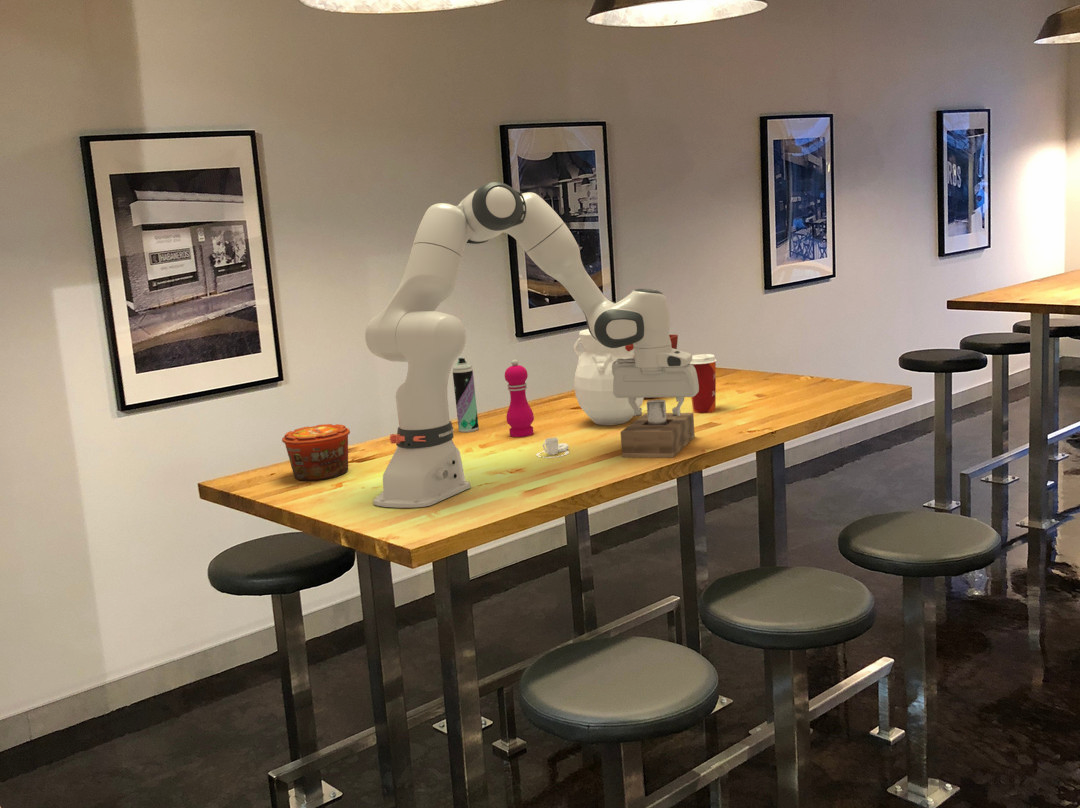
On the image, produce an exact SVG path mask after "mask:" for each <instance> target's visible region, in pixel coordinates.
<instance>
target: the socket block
mask: <svg viewBox="0 0 1080 808" xmlns="http://www.w3.org/2000/svg"><path fill="white" fill-rule="evenodd" d="M672 413H673V412H666V418H667V425H648V415H647V412H646V413H644V414H642V415H641V416H639V418H637V419H636V420H634V421H633V422H632V423H631V424H629V425H628V426H626V427H625V428H624V429H622V430H621V431H620V441H621V442H620V445H621V455H622V458H650V459H651V458H653V459H654V458H655V459H656V458H658V459H659V458H661V459H662V458H667V459H668V458H669V459H671V458H672V459H673V458H674V457H675V456H676V455H677V454H679V453H680V452H681V451H682V450H683V448H685V447H686V446H687V445H688V444H689V443H690V442H691V441H692V440H693V439H694V438H695V423H694V422H695V420H694V412H680V416H673V414H672Z"/></svg>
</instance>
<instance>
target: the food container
mask: <svg viewBox="0 0 1080 808" xmlns="http://www.w3.org/2000/svg"><path fill="white" fill-rule="evenodd" d="M350 434H351V430H350V429H349V428H347V427H346V425H345V424H340V423H339V424H332V423H330V424H329V423H327V424H325V423H324V424H323V423H322V424H317V425H314V426H313V425H312V426H304V427H300V428H296V429H294V430H293V431H292V430H291V431H290V430H289V431H288V432H286V433H285V434H284V436H283V437H281V438H282V439H281V442H282V443H284V445H285V449H286V452H287V453H286V454H287V456H288V459H289V463H290V465H291V466H290V467H291V470H292V473H293V476H294V477H293V478H294V479H295V480H297V481H300V482H302V481H304V482H306V481H307V482H310V481H312V482H314V481H320V480H321V481H322V480H328V479H332V478H336V477H339V476H342V475H343V474H345V473H347V472H348V470H349V435H350Z"/></svg>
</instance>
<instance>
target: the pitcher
mask: <svg viewBox="0 0 1080 808" xmlns="http://www.w3.org/2000/svg"><path fill="white" fill-rule="evenodd" d="M578 336H579V338H578V339H576V341H575V342H574V344H573V351H574V353H575V354H576V356H577V357H578V359H577V366H576V370H575V372H574V381H573V383H574V384H573V386H574V394H575V398H576V400H577V402H578V405H579V407H580V408H581V409H582V411H583V412H584V413H585V414H586V416H588V418H590V420H592V422H593V423H594V424H596V425H598V426H600V425H601V426H615V425H620V424H621V425H622V424H625V423H628V422H629V421H630V420H631V419H632V418H633V417H635V416H634V409H633V408H632V407H631V405H630V404H629V402H628V398H616V397H615V395H614V394H613V378H614V376H613V374H612V364H613V362H614V361H617V359H628V358H634V357H633V356H634V349H633V350H631V351H629V352H628V351H627V350H626V349H625V346H623V347H620V348H608V347H605V346H604V345H602V344H601V343H600V342H598V341H597V340H595V339H594V338H593V337H592V335H591V334H590V332H589V329H588V328H587V329H584V330H583V329H582V330H580V331H579V333H578ZM579 344H582V346H583V348H584V351H582V350H581V349H580V348H579ZM616 363H617V362H616ZM643 402H644V399H643V398H636V401H635V403H636V404H637V406H638V408H641V406H642V405H643Z"/></svg>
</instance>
